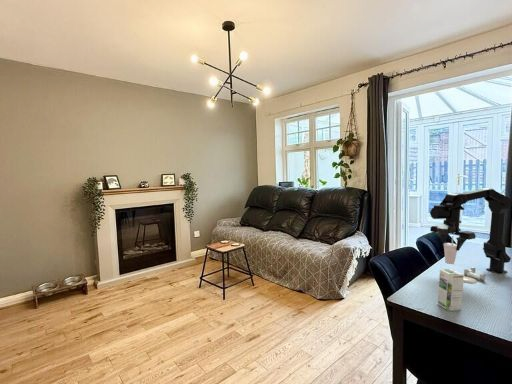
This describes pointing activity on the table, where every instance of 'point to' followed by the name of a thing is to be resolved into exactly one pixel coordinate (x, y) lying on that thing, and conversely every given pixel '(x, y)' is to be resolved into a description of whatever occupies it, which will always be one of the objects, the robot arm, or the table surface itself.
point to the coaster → (469, 280)
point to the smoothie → (450, 252)
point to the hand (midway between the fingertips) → (450, 248)
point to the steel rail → (472, 274)
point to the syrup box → (450, 289)
